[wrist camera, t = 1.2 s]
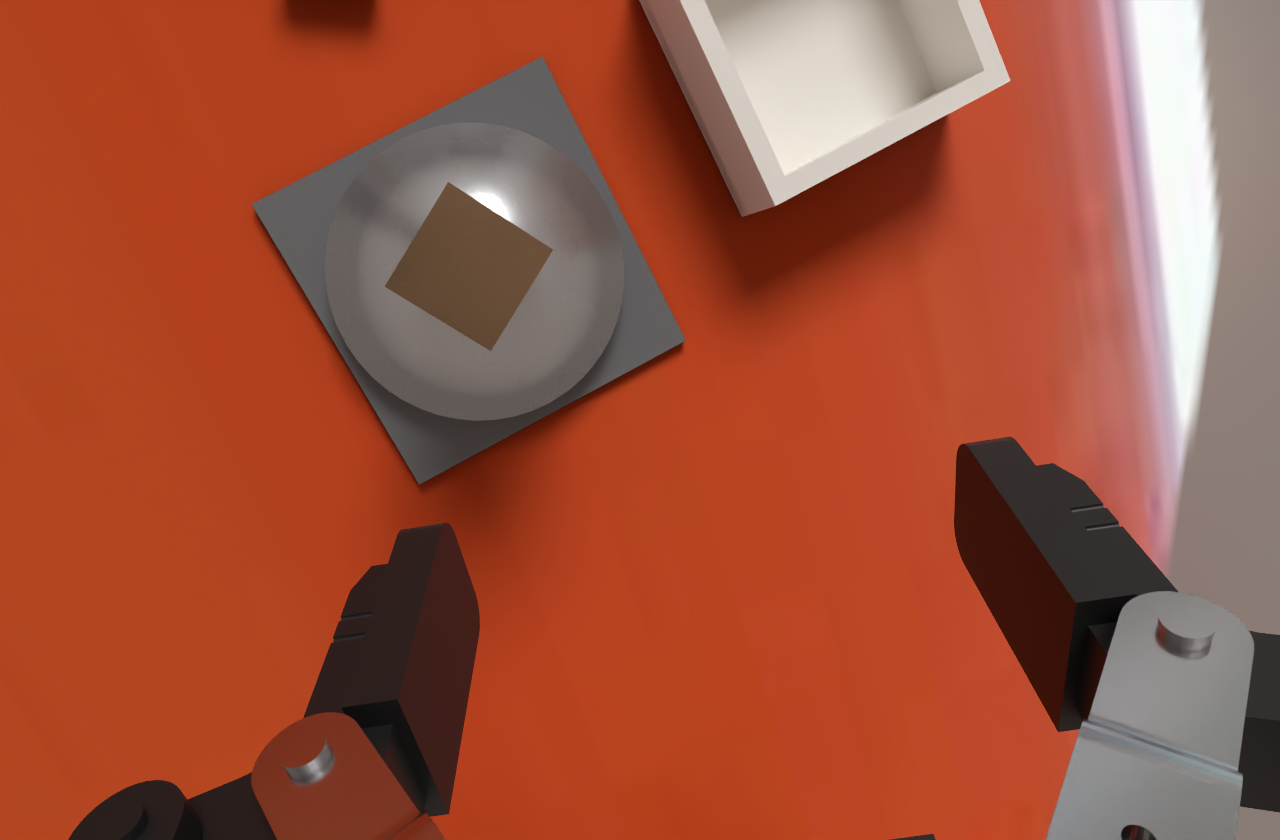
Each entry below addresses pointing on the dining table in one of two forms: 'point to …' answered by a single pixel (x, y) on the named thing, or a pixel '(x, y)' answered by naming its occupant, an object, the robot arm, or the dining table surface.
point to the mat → (508, 101)
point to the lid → (474, 271)
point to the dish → (819, 80)
